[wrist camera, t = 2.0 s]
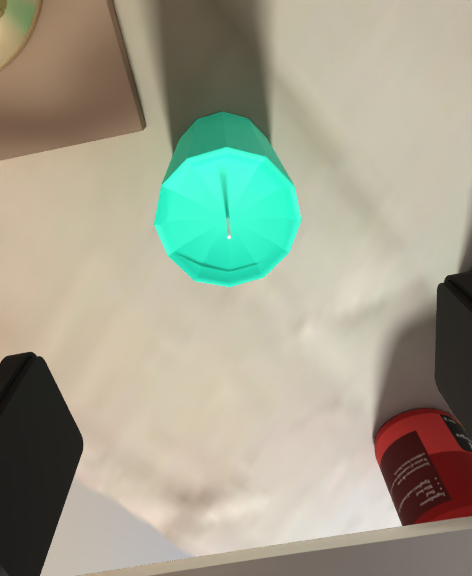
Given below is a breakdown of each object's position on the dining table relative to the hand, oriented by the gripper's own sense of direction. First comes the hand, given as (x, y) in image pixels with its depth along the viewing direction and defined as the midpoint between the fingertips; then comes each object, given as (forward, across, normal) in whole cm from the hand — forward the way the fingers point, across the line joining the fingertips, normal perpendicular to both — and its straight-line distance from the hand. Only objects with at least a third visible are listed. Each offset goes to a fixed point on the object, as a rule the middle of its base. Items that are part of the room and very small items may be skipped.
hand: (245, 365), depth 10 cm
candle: (+19, 0, -1) cm, 19 cm away
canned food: (+20, -12, +26) cm, 35 cm away
